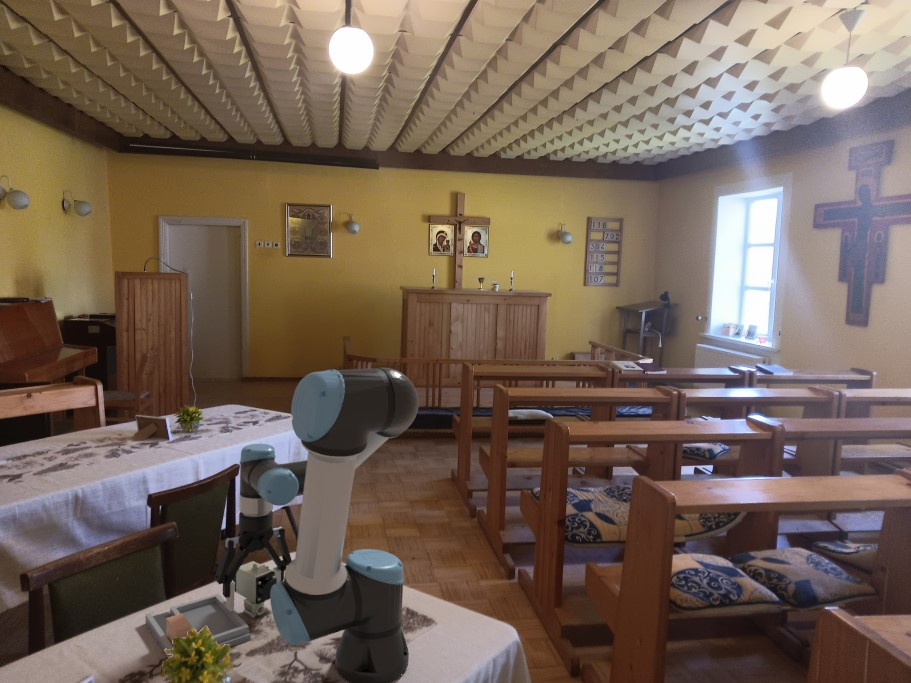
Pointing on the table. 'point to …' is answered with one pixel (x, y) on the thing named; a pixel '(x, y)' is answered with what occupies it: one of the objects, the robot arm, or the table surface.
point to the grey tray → (203, 621)
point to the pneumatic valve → (254, 586)
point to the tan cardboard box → (176, 627)
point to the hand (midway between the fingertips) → (253, 602)
